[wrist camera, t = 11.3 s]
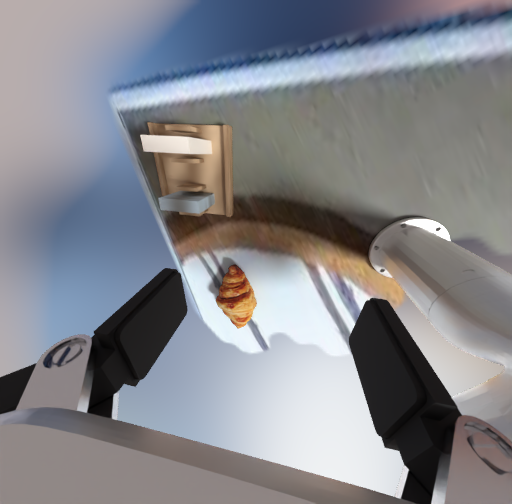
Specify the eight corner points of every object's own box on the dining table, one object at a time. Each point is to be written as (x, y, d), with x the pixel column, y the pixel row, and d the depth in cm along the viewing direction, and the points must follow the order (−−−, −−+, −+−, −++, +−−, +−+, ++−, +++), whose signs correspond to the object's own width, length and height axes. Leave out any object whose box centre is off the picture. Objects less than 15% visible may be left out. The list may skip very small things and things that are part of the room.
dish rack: (231, 126, 30) (214, 118, 23) (233, 214, 37) (220, 227, 30) (155, 124, 32) (117, 115, 25) (171, 208, 39) (145, 219, 32)
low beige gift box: (211, 140, 31) (187, 136, 24) (212, 154, 32) (189, 154, 25) (173, 139, 32) (140, 134, 25) (175, 152, 33) (143, 151, 26)
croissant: (253, 313, 55) (262, 335, 49) (220, 323, 53) (225, 347, 46) (248, 254, 45) (259, 271, 38) (208, 262, 42) (211, 282, 36)
